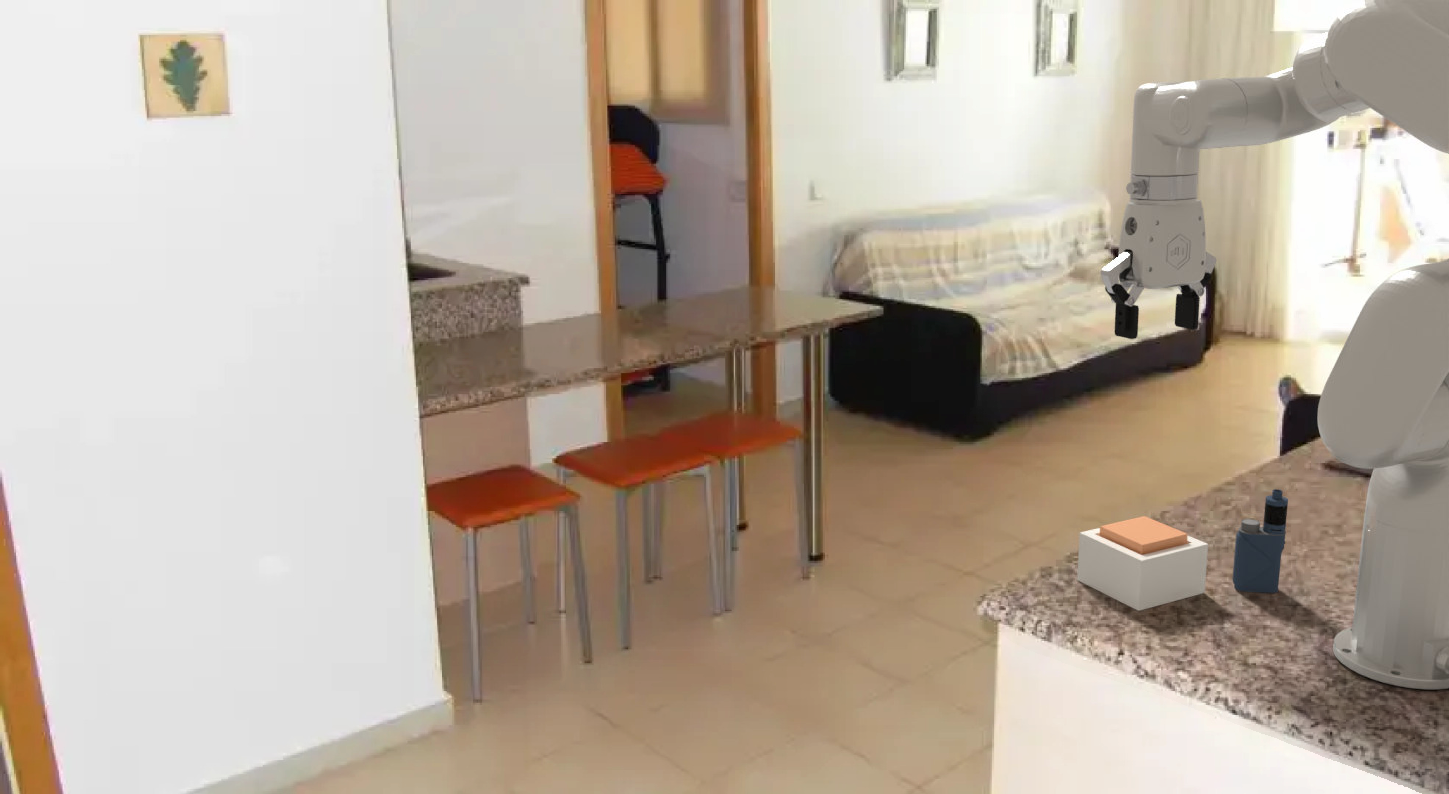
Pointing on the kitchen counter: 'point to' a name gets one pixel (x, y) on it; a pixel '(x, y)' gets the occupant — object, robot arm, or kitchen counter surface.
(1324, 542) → the kitchen counter surface
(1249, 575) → the vaping device
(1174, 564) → the white hollow square box
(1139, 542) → the plunger
